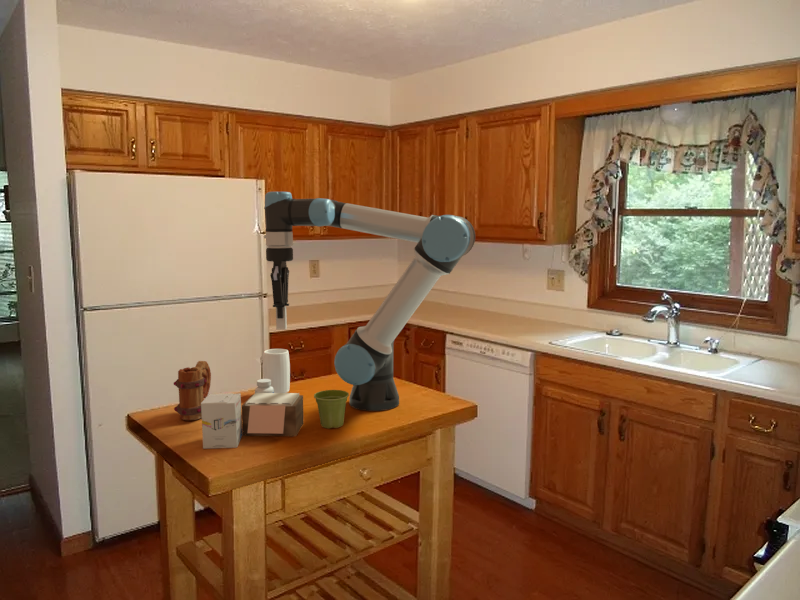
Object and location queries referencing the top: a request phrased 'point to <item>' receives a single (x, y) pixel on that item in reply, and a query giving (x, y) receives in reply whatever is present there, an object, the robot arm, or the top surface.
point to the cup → (277, 369)
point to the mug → (192, 390)
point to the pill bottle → (264, 386)
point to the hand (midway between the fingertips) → (281, 329)
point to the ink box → (221, 420)
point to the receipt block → (289, 400)
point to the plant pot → (331, 407)
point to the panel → (266, 419)
